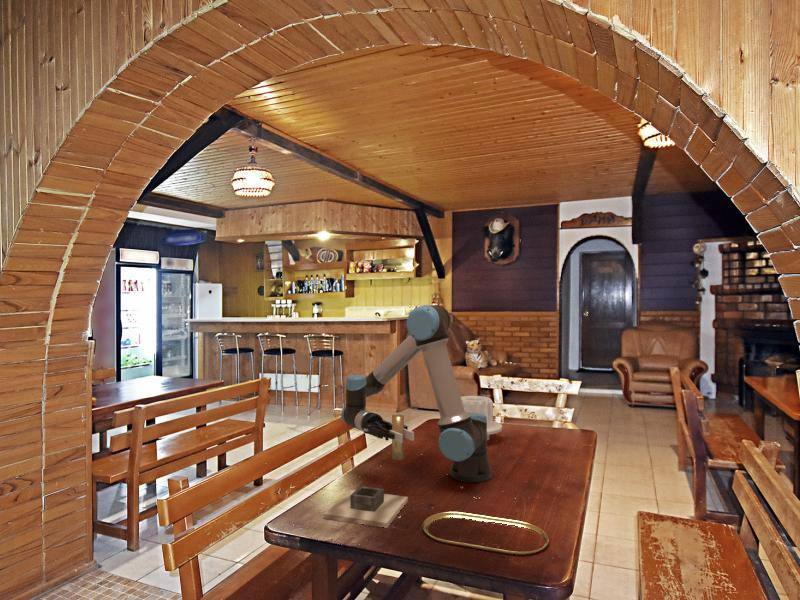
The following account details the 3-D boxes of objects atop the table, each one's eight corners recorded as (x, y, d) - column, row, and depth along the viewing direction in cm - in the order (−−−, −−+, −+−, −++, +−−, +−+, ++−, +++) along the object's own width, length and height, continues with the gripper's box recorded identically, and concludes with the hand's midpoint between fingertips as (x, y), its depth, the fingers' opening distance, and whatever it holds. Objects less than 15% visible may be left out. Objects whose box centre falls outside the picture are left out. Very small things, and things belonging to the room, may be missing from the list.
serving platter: (546, 563, 130) (546, 557, 130) (413, 540, 142) (413, 534, 142) (551, 531, 147) (551, 525, 147) (433, 513, 159) (433, 508, 159)
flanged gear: (513, 439, 237) (513, 398, 237) (479, 451, 220) (479, 407, 220) (470, 429, 255) (470, 391, 255) (436, 439, 238) (436, 398, 238)
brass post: (405, 456, 174) (405, 415, 173) (401, 460, 170) (401, 417, 170) (394, 455, 175) (394, 414, 175) (390, 458, 171) (390, 416, 171)
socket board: (407, 501, 167) (407, 484, 167) (386, 528, 148) (386, 509, 148) (350, 494, 173) (350, 477, 173) (323, 518, 154) (323, 500, 154)
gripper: (388, 429, 192) (428, 444, 173) (348, 436, 182) (385, 453, 163) (388, 409, 192) (428, 422, 173) (348, 415, 182) (385, 430, 163)
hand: (407, 437), depth 168 cm, fingers closed on brass post, 4 cm apart
